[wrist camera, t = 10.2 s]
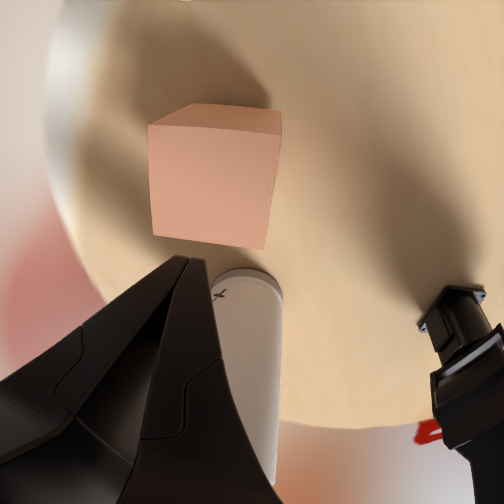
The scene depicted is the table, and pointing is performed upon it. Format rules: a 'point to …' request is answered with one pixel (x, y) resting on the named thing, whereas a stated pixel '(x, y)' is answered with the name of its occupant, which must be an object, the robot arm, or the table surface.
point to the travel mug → (252, 354)
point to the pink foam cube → (214, 173)
